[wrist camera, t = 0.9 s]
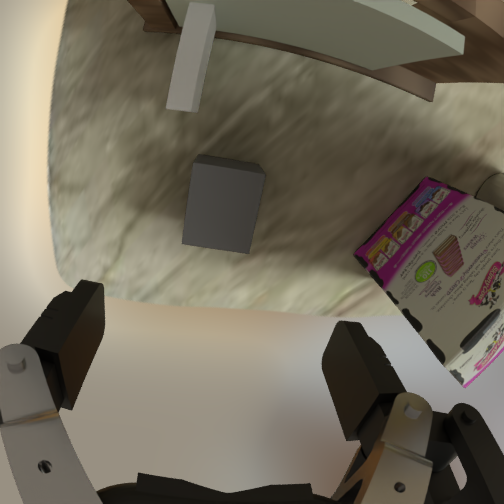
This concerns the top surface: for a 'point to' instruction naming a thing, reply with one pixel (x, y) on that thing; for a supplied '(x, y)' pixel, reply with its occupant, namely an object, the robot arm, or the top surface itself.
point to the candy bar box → (445, 273)
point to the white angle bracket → (306, 34)
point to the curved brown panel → (404, 75)
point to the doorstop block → (223, 203)
